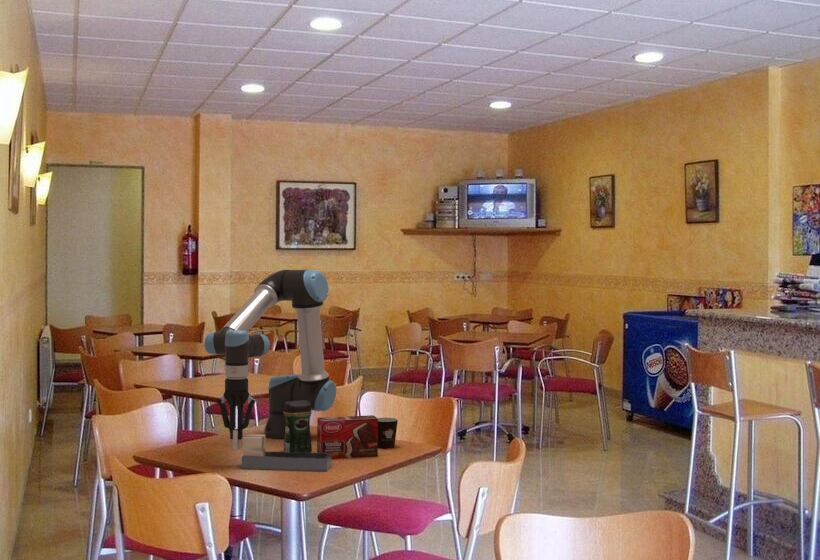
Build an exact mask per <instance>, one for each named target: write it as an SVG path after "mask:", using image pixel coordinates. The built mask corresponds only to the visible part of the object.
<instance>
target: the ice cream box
mask: <svg viewBox="0 0 820 560" xmlns="http://www.w3.org/2000/svg"><path fill="white" fill-rule="evenodd" d="M378 418H379V417H377V416H375V415H371V414H370V415H352V416H351V415H350V416H349V415H348V416H323V417H321V416H320V417H317V419H316V420H317V422H316V423H317V425H316V427H317V428H316V430H317V431H316V433H317V434H316V444H317V445H316V453H332V460H336V459H337V460H339V459H355V458H371V457H373V458H375V457H376V458H377V457H378V455H379V454H378V450H379V448H378Z"/></svg>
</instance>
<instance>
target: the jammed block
mask: <svg viewBox="0 0 820 560" xmlns="http://www.w3.org/2000/svg"><path fill="white" fill-rule="evenodd" d="M265 451H266V436H265V435H264V434H253V433H252V434H251V433H249V434H246V435H245V436H243V437H242V456H265Z"/></svg>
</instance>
